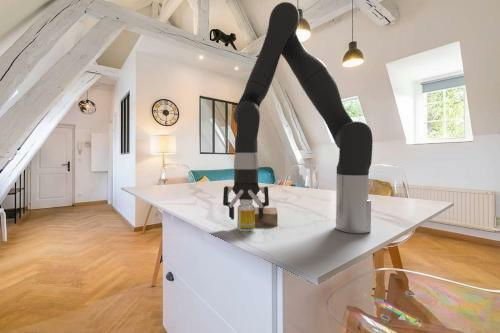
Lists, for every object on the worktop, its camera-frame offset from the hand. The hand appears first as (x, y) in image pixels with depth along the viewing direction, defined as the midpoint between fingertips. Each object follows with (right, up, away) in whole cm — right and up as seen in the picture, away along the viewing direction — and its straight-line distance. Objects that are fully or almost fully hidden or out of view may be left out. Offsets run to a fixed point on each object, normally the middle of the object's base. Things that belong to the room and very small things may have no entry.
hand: (246, 219), depth 73 cm
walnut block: (+6, -3, +9) cm, 11 cm away
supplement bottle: (0, -3, 0) cm, 3 cm away
